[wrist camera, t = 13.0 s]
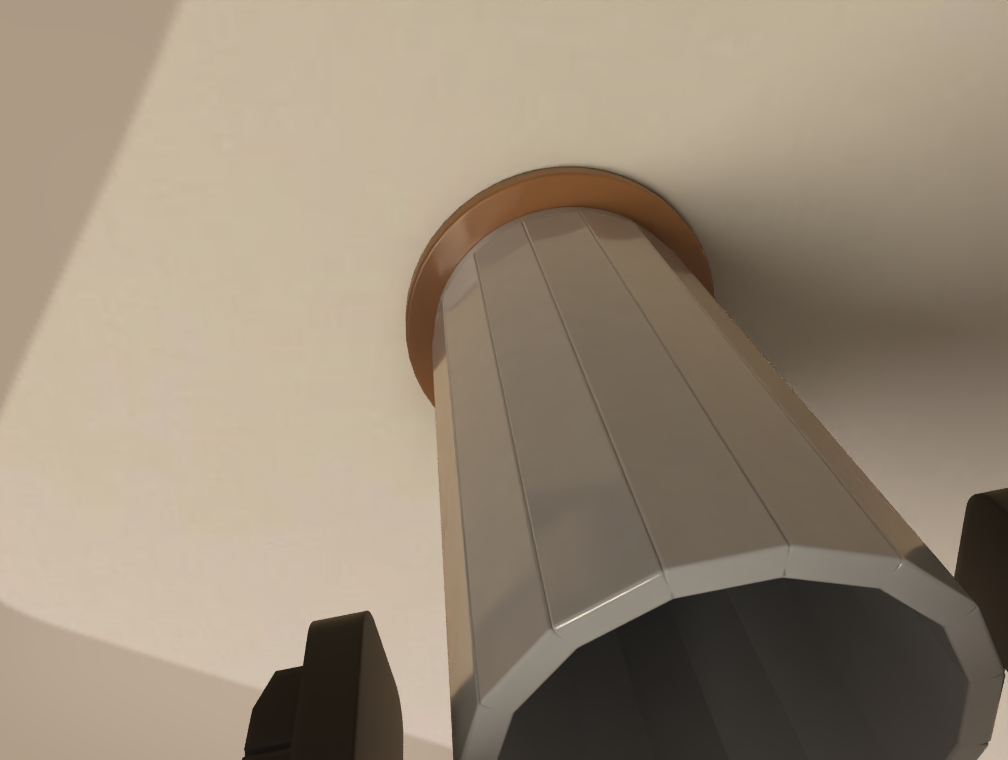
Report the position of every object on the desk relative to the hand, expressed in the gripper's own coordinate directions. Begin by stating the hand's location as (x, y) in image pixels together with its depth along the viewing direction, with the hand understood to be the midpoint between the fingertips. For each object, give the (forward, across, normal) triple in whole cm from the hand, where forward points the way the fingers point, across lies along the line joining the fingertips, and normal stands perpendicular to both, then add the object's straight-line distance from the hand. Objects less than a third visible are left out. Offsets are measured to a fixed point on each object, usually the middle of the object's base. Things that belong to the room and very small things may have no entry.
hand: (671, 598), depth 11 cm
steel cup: (+9, 0, 0) cm, 9 cm away
